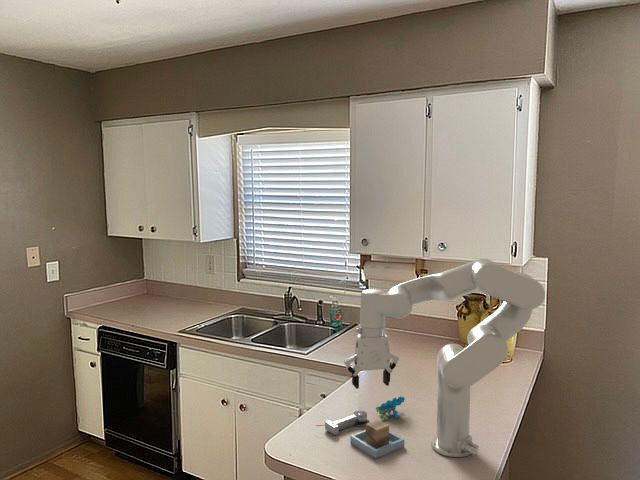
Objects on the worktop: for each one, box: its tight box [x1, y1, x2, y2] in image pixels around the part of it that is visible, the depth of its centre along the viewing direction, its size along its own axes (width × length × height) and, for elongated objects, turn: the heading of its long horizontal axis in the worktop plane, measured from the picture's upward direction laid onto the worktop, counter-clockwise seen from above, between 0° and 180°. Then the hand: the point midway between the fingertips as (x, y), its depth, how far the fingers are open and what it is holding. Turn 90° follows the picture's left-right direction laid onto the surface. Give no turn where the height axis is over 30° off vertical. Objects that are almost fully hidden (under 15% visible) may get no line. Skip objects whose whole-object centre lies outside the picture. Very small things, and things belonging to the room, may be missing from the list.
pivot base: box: [315, 419, 370, 428], centre depth 174 cm, size 6×18×1 cm, turn 106°
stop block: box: [365, 419, 390, 449], centre depth 160 cm, size 5×5×6 cm
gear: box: [375, 396, 406, 421], centre depth 179 cm, size 11×6×10 cm
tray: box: [349, 429, 405, 460], centre depth 160 cm, size 12×12×2 cm
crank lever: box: [324, 410, 368, 436], centre depth 172 cm, size 15×5×3 cm, turn 126°
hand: (371, 385), depth 159 cm, fingers open, 9 cm apart
